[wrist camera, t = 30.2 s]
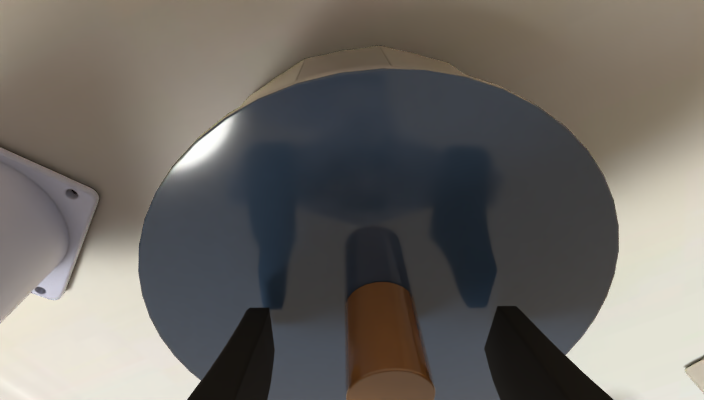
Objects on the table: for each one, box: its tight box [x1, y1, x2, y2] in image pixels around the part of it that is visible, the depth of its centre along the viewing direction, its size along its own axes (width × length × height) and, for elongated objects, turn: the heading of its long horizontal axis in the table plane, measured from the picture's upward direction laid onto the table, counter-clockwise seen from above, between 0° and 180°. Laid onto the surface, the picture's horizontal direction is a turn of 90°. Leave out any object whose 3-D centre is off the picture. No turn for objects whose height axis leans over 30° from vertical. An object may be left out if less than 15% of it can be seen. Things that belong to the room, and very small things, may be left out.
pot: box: [241, 45, 462, 106], centre depth 16 cm, size 15×15×6 cm
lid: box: [138, 65, 619, 400], centre depth 12 cm, size 16×16×4 cm
